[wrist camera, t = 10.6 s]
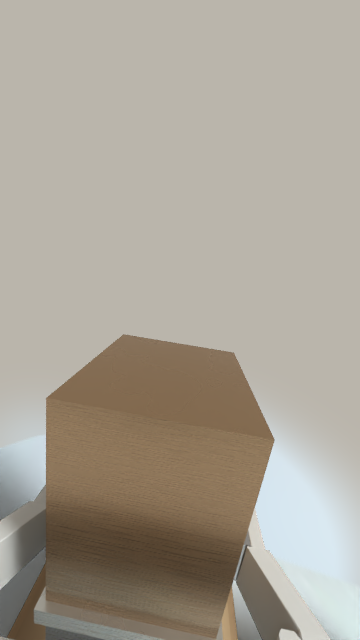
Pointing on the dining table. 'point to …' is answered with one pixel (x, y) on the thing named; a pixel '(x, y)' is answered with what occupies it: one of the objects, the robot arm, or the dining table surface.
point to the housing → (148, 492)
